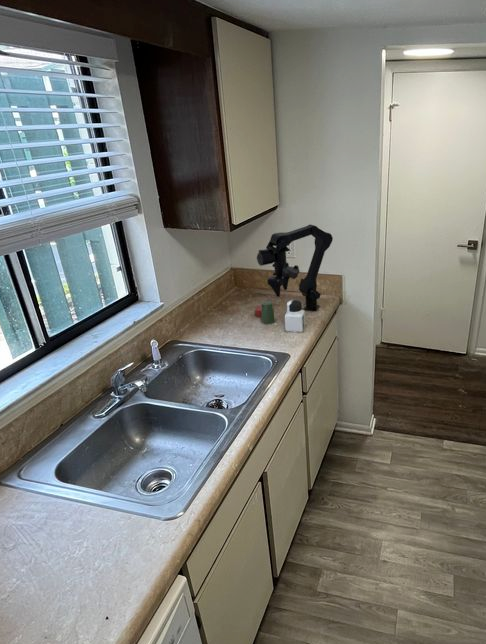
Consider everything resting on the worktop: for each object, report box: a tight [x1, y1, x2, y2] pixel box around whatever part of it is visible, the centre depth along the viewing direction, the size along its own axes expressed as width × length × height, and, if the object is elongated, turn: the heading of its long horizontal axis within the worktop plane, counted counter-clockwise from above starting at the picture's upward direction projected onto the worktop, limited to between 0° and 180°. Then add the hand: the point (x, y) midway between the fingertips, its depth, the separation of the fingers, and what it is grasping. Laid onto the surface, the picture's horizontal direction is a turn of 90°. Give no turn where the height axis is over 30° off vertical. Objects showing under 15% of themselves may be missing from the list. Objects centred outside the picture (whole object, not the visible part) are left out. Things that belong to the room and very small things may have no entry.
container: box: [284, 299, 306, 333], centre depth 195 cm, size 8×8×13 cm
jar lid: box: [254, 305, 262, 318], centre depth 212 cm, size 7×7×3 cm
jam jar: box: [260, 300, 275, 325], centre depth 203 cm, size 6×6×10 cm
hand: (282, 293), depth 205 cm, fingers open, 9 cm apart
